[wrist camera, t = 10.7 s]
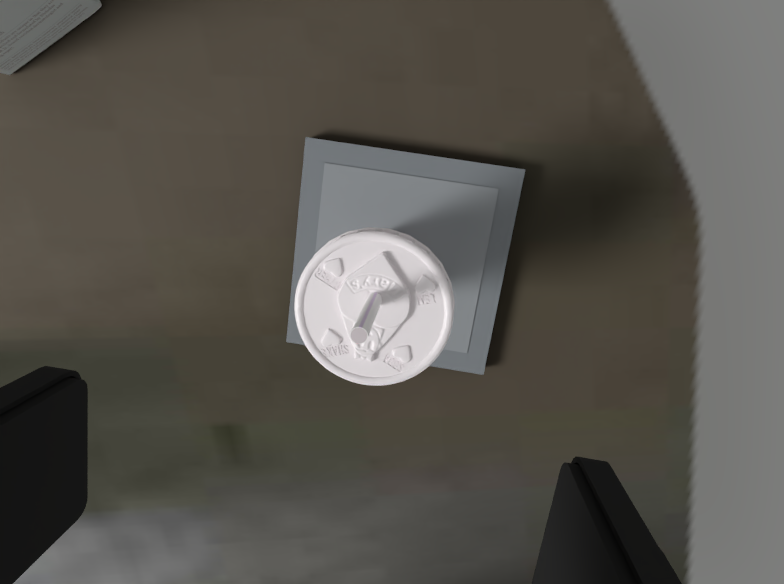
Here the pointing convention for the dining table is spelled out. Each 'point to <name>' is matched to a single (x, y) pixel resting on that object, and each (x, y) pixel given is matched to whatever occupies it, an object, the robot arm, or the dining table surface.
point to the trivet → (416, 225)
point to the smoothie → (374, 306)
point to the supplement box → (37, 27)
